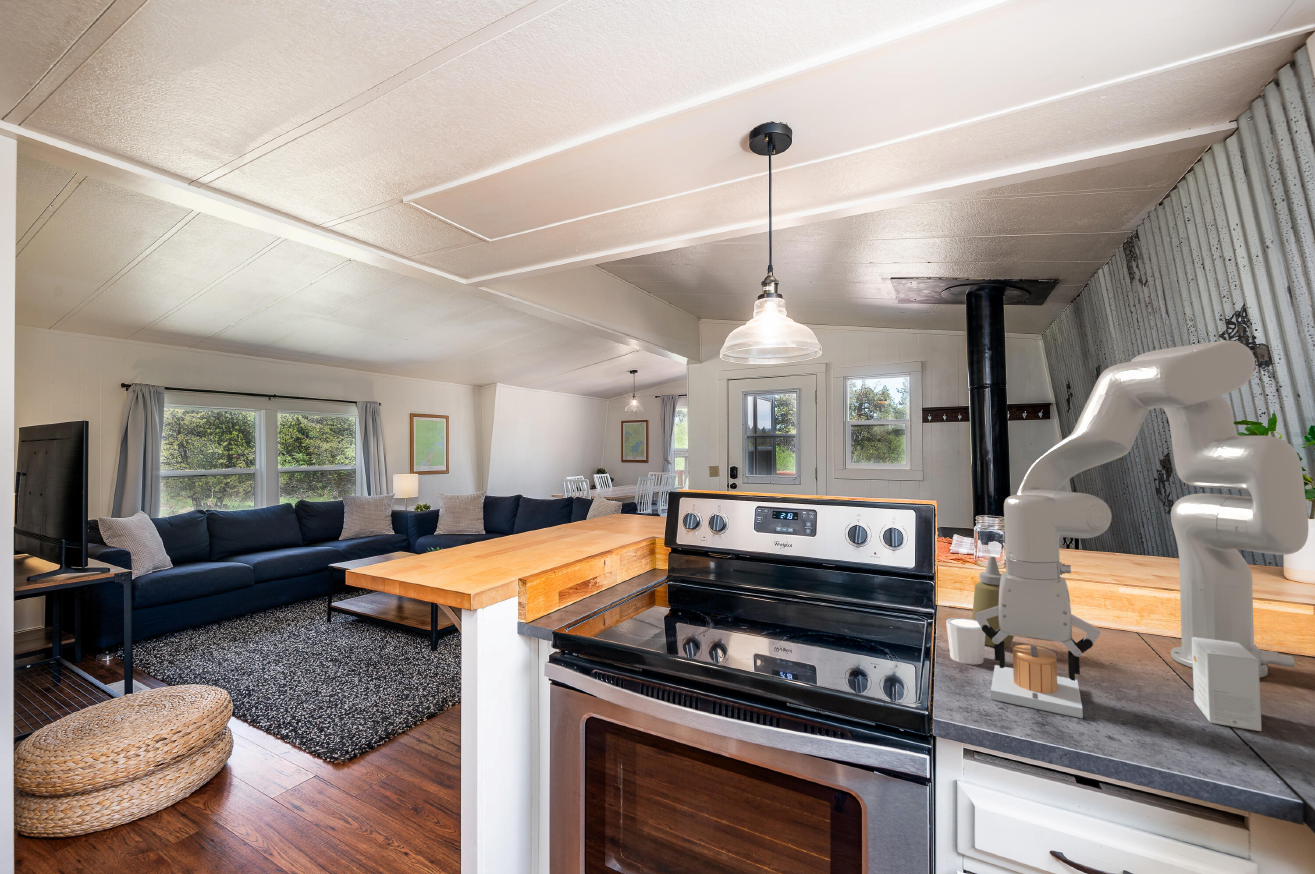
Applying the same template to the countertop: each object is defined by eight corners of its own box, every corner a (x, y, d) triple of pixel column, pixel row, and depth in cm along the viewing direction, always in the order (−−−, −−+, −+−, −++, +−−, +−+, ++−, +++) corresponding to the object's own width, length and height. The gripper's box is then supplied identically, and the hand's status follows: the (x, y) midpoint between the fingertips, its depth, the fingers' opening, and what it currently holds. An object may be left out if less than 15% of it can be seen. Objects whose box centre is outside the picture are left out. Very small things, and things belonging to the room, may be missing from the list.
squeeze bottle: (1026, 650, 112) (1024, 560, 112) (985, 650, 112) (983, 561, 112) (1001, 636, 120) (999, 552, 120) (964, 636, 120) (962, 553, 120)
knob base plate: (1077, 688, 95) (1076, 656, 95) (1082, 718, 85) (1081, 682, 85) (995, 673, 101) (994, 642, 101) (991, 699, 91) (990, 665, 91)
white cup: (992, 666, 104) (992, 629, 104) (953, 664, 105) (952, 627, 106) (979, 652, 111) (978, 617, 111) (942, 651, 112) (941, 616, 112)
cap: (1058, 695, 89) (1057, 660, 89) (1014, 687, 92) (1013, 653, 92) (1055, 681, 94) (1054, 647, 94) (1013, 674, 97) (1012, 641, 97)
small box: (1262, 733, 80) (1260, 659, 80) (1208, 723, 82) (1206, 652, 83) (1241, 709, 86) (1239, 641, 86) (1193, 701, 89) (1191, 635, 89)
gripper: (1095, 569, 91) (1099, 673, 91) (975, 559, 101) (978, 653, 101) (1100, 579, 85) (1104, 691, 85) (971, 568, 95) (974, 668, 95)
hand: (1036, 671), depth 93 cm, fingers open, 9 cm apart
